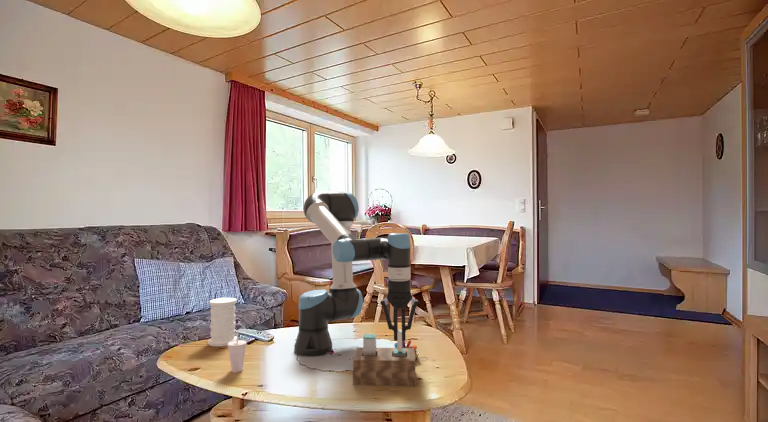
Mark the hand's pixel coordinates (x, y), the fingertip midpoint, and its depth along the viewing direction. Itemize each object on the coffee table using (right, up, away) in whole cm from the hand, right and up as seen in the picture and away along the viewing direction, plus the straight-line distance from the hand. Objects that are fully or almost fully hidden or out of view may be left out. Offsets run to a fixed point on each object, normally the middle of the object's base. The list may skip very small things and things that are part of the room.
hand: (399, 350), depth 131 cm
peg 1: (-10, -3, 0) cm, 11 cm away
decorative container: (-75, -10, +38) cm, 84 cm away
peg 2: (0, -8, 0) cm, 8 cm away
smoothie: (-57, -10, +7) cm, 58 cm away
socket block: (-5, -9, 0) cm, 11 cm away
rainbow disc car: (+3, -10, +18) cm, 20 cm away
